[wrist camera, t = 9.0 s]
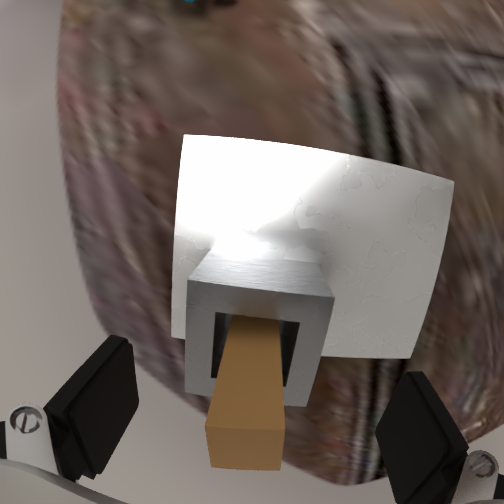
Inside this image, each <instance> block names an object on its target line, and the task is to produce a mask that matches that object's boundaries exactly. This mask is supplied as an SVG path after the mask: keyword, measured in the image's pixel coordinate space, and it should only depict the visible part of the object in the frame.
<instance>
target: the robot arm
mask: <svg viewBox="0 0 504 504" xmlns="http://www.w3.org/2000/svg"><path fill="white" fill-rule="evenodd" d="M138 404H139V397H138V390H137V382H136V374H135V365H134V356H133V347H132V344H130V343H129V342H128V339H126V338H123V337H119V336H116V335H110V336H109V337H108V338H107V339H106V340H105V341H104V342H103V343H102V344H101V346H100V347H99V348H98V349H97V350H96V351H95V352H94V353H93V354H92V355H91V356H90V357H89V358H88V359H87V360H86V362H85V363H84V364H83V365H82V366H80V368H79V369H78V370H77V371H76V372H75V373H74V374H73V375H72V376H71V378H69V380H68V381H67V382H66V383H65V384H64V385H63V386H62V387H61V388H60V389H59V391H58V392H57V393H56V394H55V395H54V396H53V397H52V399H51V400H50V401H49V402H48V403H47V404H46V405H45V407H44V408H43V409H42V408H41V407H39V406H37V405H34V404H31V403H22V404H18V405H16V406H14V407H13V408H11V410H9V412H8V414H7V415H6V420H5V421H2V422H0V504H128V503H125V502H122V501H119V500H116V499H114V498H111V497H108V496H105V495H103V494H101V493H98V492H96V491H93V490H91V489H88V488H86V487H83V486H82V485H79V482H78V480H79V479H80V477H81V475H84V476H86V477H88V478H90V479H93V480H94V478H95V476H96V474H101V473H102V472H103V470H104V469H105V467H106V465H107V463H108V461H109V459H110V457H111V455H112V454H113V452H114V450H115V448H116V446H117V444H118V443H119V441H120V439H121V437H122V435H123V434H124V432H125V430H126V428H127V426H128V424H129V423H130V421H131V419H132V417H133V415H134V414H135V412H136V410H137V408H138ZM375 434H376V438H377V441H378V444H379V448H380V451H381V454H382V457H383V460H384V464H385V467H386V470H387V474H388V477H389V481H390V484H391V488H392V491H393V495H394V498H395V501H396V503H397V504H504V475H501V474H499V473H498V471H499V466H498V463H497V461H496V459H495V457H494V456H492V455H491V454H490V453H488V452H486V451H482V450H478V451H474V452H471V453H470V454H469V455H468V454H467V452H466V451H467V450H468V449H469V446H468V444H467V443H466V441H465V439H464V437H463V436H462V434H461V432H460V431H459V429H458V427H457V425H456V424H455V422H454V420H453V419H452V417H451V415H450V414H449V412H448V410H447V409H446V407H445V406H444V404H443V402H442V401H441V399H440V398H439V396H438V394H437V393H436V391H435V390H434V388H433V387H432V385H431V383H430V382H429V380H428V379H427V377H426V376H425V374H424V373H423V372H421V371H410V372H407V373H406V374H405V375H404V376H402V377H401V378H400V380H399V382H398V384H397V387H396V389H395V391H394V393H393V395H392V397H391V399H390V401H389V403H388V406H387V408H386V410H385V412H384V413H383V415H382V417H381V419H380V421H379V423H378V425H377V427H376V432H375Z"/></svg>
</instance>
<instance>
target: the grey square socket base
mask: <svg viewBox="0 0 504 504" xmlns="http://www.w3.org/2000/svg"><path fill="white" fill-rule="evenodd" d="M453 190H454V181H452V180H448V179H445V178H442V177H438V176H435V175H432V174H428V173H424V172H421V171H417V170H413V169H410V168H406V167H402V166H398V165H394V164H390V163H386V162H381V161H377V160H372V159H368V158H363V157H358V156H354V155H348V154H343V153H338V152H333V151H327V150H321V149H315V148H309V147H303V146H296V145H289V144H282V143H274V142H266V141H257V140H248V139H238V138H226V137H213V136H198V135H184V139H183V147H182V155H181V164H180V174H179V184H178V195H177V206H176V219H175V234H174V252H173V274H172V319H171V337H175V338H181V339H185V392H187V393H192V394H198V395H203V396H209V397H212V395H213V391H214V387H215V383H216V379H217V375H218V371H219V367H220V363H221V359H222V355H223V351H224V347H225V343H226V339H227V335H228V331H229V327H230V323H231V319H232V315H233V314H235V315H243V316H250V317H258V318H267V319H275V320H279V334H280V348H281V363H282V380H283V396H284V405H286V406H302V407H306V405H307V402H308V399H309V395H310V392H311V389H312V386H313V382H314V379H315V375H316V372H317V368H318V365H319V361H320V357H321V356H332V357H353V358H410V357H411V354H412V352H413V349H414V347H415V344H416V341H417V338H418V336H419V333H420V330H421V327H422V324H423V321H424V318H425V315H426V312H427V309H428V306H429V302H430V299H431V296H432V292H433V289H434V285H435V281H436V277H437V274H438V270H439V266H440V261H441V257H442V253H443V248H444V243H445V239H446V234H447V228H448V223H449V217H450V211H451V204H452V197H453Z"/></svg>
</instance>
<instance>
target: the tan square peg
mask: <svg viewBox="0 0 504 504" xmlns="http://www.w3.org/2000/svg"><path fill="white" fill-rule="evenodd" d="M205 431H206V437H207V443H208V450H209V456H210V462H211V467H215V468H226V469H240V470H280V467H281V460H282V452H283V444H284V436H285V414H284V396H283V380H282V363H281V348H280V334H279V320H275V319H267V318H258V317H250V316H243V315H235V314H233V315H232V319H231V323H230V327H229V331H228V335H227V339H226V343H225V347H224V351H223V355H222V359H221V363H220V367H219V371H218V375H217V379H216V383H215V387H214V391H213V395H212V399H211V403H210V407H209V411H208V415H207V419H206V423H205Z"/></svg>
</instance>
